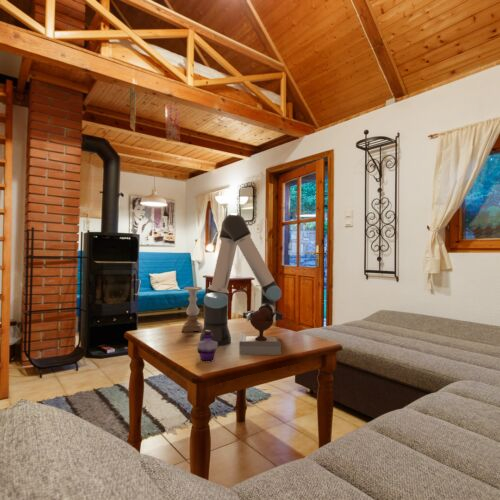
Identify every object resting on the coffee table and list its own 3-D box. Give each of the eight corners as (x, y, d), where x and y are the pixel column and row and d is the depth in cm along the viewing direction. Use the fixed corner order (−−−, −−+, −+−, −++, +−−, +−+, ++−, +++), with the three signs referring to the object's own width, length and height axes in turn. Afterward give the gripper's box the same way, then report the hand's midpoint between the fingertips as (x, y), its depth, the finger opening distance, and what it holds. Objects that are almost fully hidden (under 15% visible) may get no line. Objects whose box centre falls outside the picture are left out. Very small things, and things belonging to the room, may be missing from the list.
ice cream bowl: (268, 336, 167) (269, 305, 167) (275, 342, 156) (276, 309, 156) (247, 336, 165) (248, 305, 165) (252, 343, 154) (253, 309, 154)
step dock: (239, 354, 150) (239, 341, 150) (239, 343, 168) (239, 332, 168) (280, 354, 150) (281, 341, 150) (276, 343, 168) (277, 332, 168)
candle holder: (183, 328, 200) (184, 286, 200) (202, 327, 201) (203, 286, 202) (181, 332, 189) (182, 288, 190) (201, 332, 191) (202, 288, 191)
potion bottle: (195, 357, 145) (195, 328, 145) (215, 355, 147) (215, 327, 147) (198, 363, 136) (198, 333, 136) (219, 362, 139) (220, 332, 139)
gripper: (289, 319, 176) (287, 328, 155) (243, 317, 180) (234, 326, 158) (289, 304, 176) (287, 312, 155) (243, 303, 180) (234, 309, 158)
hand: (260, 319), depth 156 cm, fingers open, 11 cm apart
